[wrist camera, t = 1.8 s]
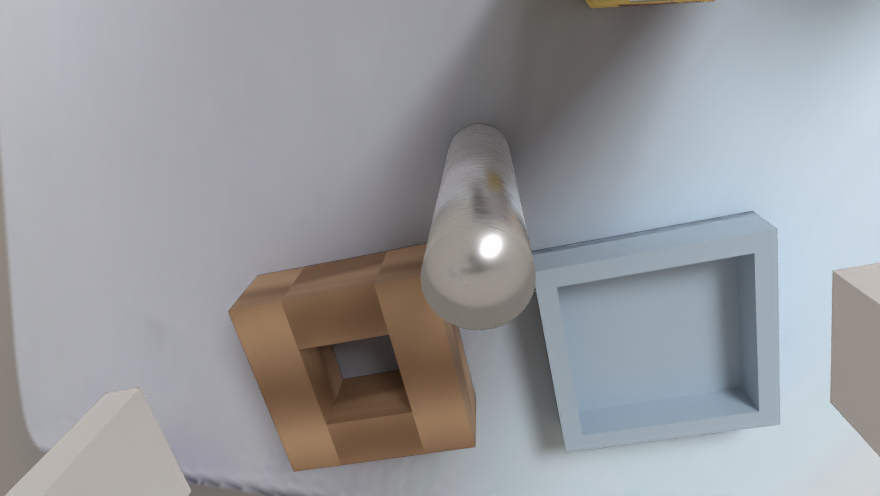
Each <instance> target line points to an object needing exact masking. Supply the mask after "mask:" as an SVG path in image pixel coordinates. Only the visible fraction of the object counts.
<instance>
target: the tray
mask: <svg viewBox="0 0 880 496" xmlns="http://www.w3.org/2000/svg"><path fill="white" fill-rule="evenodd" d="M531 253H532V258H533V262H534V267H535V274H536V284H535V289H536V294H537V300H538V305H539V310H540V316H541V321H542V327H543V332H544V337H545V343H546V348H547V353H548V359H549V364H550V370H551V375H552V380H553V386H554V391H555V397H556V402H557V407H558V413H559V418H560V423H561V429H562V434H563V439H564V444H565V449H566V453H567V452H574V451H582V450H590V449H597V448H605V447H612V446H620V445H628V444H635V443H643V442H651V441H658V440H666V439H673V438H681V437H689V436H696V435H704V434H712V433H719V432H727V431H734V430H742V429H750V428H757V427H765V426H772V425H780V386H779V314H778V242H777V228H775V227H774V226H773V225H771V224H770V223H769V222H767V221H766V220H765V219H763V218H762V217H760V216H759V215H758V214H756V213H755V212H754V211H750V212H745V213H739V214H734V215H728V216H723V217H717V218H712V219H706V220H701V221H695V222H690V223H684V224H679V225H673V226H668V227H662V228H657V229H651V230H646V231H641V232H635V233H630V234H624V235H619V236H613V237H608V238H602V239H597V240H591V241H586V242H580V243H575V244H569V245H564V246H558V247H553V248H547V249H542V250H536V251H531Z"/></svg>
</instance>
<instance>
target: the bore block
mask: <svg viewBox="0 0 880 496" xmlns="http://www.w3.org/2000/svg"><path fill="white" fill-rule="evenodd" d="M426 246H427V244H422V245H416V246H411V247H406V248H400V249H395V250H390V251H385V252H379V253H374V254H369V255H363V256H358V257H353V258H348V259H342V260H337V261H332V262H327V263H321V264H316V265H311V266H305V267H300V268H295V269H290V270H284V271H279V272H274V273H269V274H263V275H258V276H257V277H256V278H255V279H254V281H253V282H252V283H251V284H250V285H249V287H248V288H247V289H246V290H245V291H244V293H243V294H242V295H241V296H240V297H239V299H238V300H237V301H236V302H235V303H234V305H233V306H232V307H231V308H230V309H229V311H228V312H229V315H230V317H231V320H232V322H233V325H234V327H235V329H236V332H237V334H238V337H239V339H240V342H241V344H242V346H243V349H244V351H245V354H246V356H247V359H248V361H249V364H250V366H251V368H252V371H253V373H254V376H255V378H256V381H257V383H258V385H259V388H260V390H261V393H262V395H263V398H264V400H265V403H266V405H267V407H268V410H269V412H270V415H271V417H272V420H273V422H274V425H275V427H276V429H277V432H278V434H279V437H280V439H281V442H282V444H283V446H284V449H285V451H286V454H287V456H288V459H289V461H290V464H291V466H292V468H293V471H294V472H295V471H302V470H309V469H317V468H324V467H331V466H339V465H346V464H353V463H361V462H368V461H376V460H383V459H390V458H398V457H405V456H412V455H420V454H427V453H435V452H442V451H449V450H457V449H464V448H471V447H475V446H476V397H475V393H474V388H473V384H472V380H471V376H470V372H469V368H468V364H467V360H466V356H465V352H464V348H463V344H462V340H461V336H460V332H459V328H458V326H455V325H453V324H451V323H449V322H447V321H445V320H444V319H442V318H441V317H440V316H439V315H438V314H436V313H435V312H434V310H433V309H432V308H431V307H430V305H429V304H428V302H427V301H426V299H425V297H424V294H423V291H422V287H421V268H422V264H423V260H424V255H425V251H426ZM384 335H389V336H390V339H391V343H392V346H393V349H394V353H395V356H396V359H397V363H398V366H399V370H398V371H391V372H385V373H379V374H372V375H366V376H360V377H353V378H347V379H343V377H342V374H341V371H340V368H339V365H338V362H337V359H336V357H335V354H334V351H333V348H332V345H331V344H337V343H343V342H349V341H355V340H361V339H366V338H372V337H378V336H384Z"/></svg>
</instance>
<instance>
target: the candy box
mask: <svg viewBox="0 0 880 496" xmlns="http://www.w3.org/2000/svg"><path fill="white" fill-rule="evenodd" d="M585 1H586V2H587V4H588V5H589V7H590V8H605V7H623V6H639V5H658V4H671V3H689V2H713V1H715V0H585Z"/></svg>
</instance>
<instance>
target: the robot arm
mask: <svg viewBox="0 0 880 496" xmlns="http://www.w3.org/2000/svg"><path fill="white" fill-rule="evenodd" d="M830 403H831V404H832V405H833V406H834V407H835V408H836V409H837V410H838V411H839V412H840V414H841V415H842V416H843V417H844V418H845V419H846V420H847V421H848V422H849V423H850V425H851V426H852V427H853V428H854V429H855V430H856V431H857V432H858V433H859V434H860V435H861V437H862V438H863V439H864V440H865V441H866V442H867V443H868V444H869V445H870V446H871V448H872V449H873V450H874V451H875V452H876V453H877V454H878V455H879V456H880V263H876V264H870V265H864V266H858V267H852V268H846V269H840V270H834V271H833V280H832V335H831V391H830ZM190 492H191V490H190V487H189V485H188V483H187V481H186V479H185V477H184V475H183V473H182V471H181V469H180V467H179V465H178V463H177V461H176V459H175V457H174V455H173V453H172V451H171V449H170V447H169V445H168V443H167V441H166V439H165V436H164V434H163V432H162V430H161V428H160V426H159V424H158V422H157V420H156V418H155V416H154V414H153V412H152V410H151V408H150V406H149V404H148V402H147V400H146V398H145V396H144V394H143V392H142V390H141V388H140V387H138V388H132V389H126V390H120V391H114V392H108V393H106V394H105V395H104V396H103V397H102V398H101V399H100V400H99V401H98V402H97V403H96V404H95V405H94V406H93V407H92V408H91V409H90V410H89V411H88V412H87V413H86V414H85V415H84V416H83V417H82V418H81V419H80V420H79V421H78V422H77V423H76V424H75V425H74V426H73V427H72V428H71V429H70V430H69V431H68V432H67V433H66V434H65V435H64V436H63V437H62V438H61V439H60V440H59V441H58V442H57V443H56V444H55V445H54V446H53V447H52V448H51V449H50V450H49V451H48V452H47V453H46V454H45V456H44V457H43V458H42V459H41V460H40V461H39V462H38V463H37V464H36V465H35V466H34V467H33V468H32V469H31V470H30V471H29V472H28V473H27V474H26V475H25V476H24V477H23V478H22V479H21V480H20V481H19V482H18V483H17V484H16V485H15V486H14V487H13V488H12V489H11V490H10V491H9V492H8V493H7V494H6V495H5V496H188V495H189V494H190Z"/></svg>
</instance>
